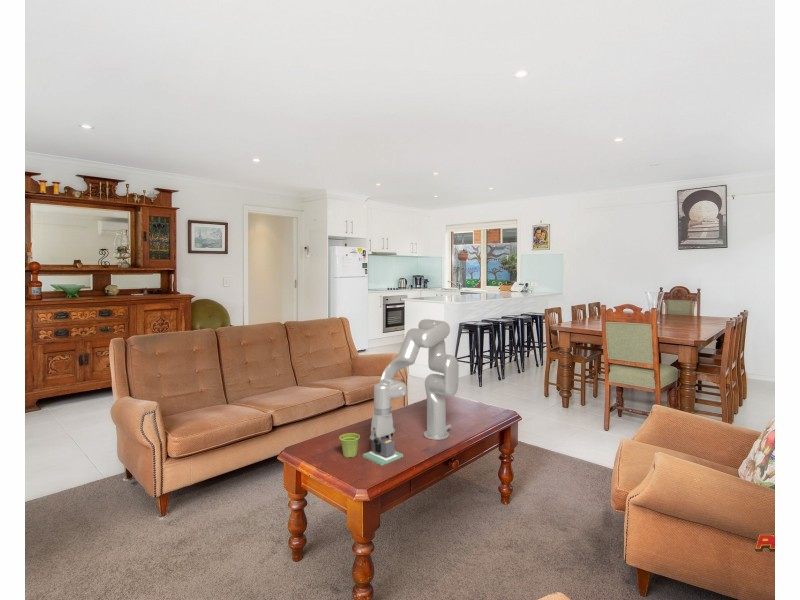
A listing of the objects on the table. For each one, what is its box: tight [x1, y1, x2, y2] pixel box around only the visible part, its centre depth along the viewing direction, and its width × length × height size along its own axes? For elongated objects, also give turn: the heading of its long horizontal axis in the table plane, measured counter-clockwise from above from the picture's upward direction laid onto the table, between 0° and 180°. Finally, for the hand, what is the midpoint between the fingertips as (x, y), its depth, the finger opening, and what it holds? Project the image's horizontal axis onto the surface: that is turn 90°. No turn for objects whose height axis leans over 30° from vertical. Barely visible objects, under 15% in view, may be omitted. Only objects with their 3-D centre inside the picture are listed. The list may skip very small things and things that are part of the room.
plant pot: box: [338, 432, 361, 459], centre depth 208 cm, size 9×9×9 cm
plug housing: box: [370, 436, 396, 457], centre depth 206 cm, size 5×10×6 cm, turn 44°
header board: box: [362, 450, 404, 467], centre depth 207 cm, size 13×13×5 cm
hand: (382, 449), depth 207 cm, fingers closed on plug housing, 5 cm apart
